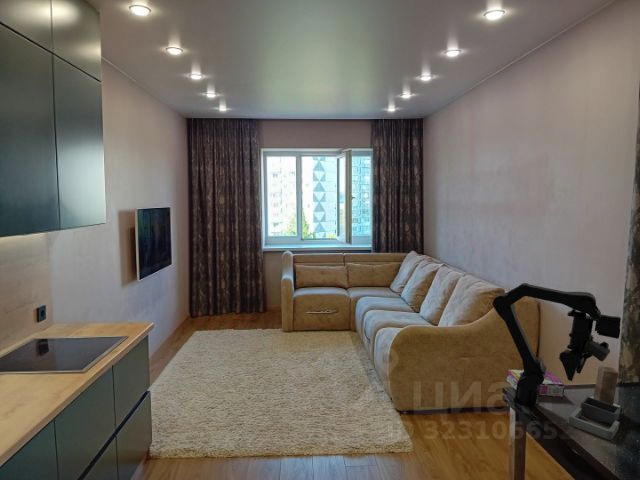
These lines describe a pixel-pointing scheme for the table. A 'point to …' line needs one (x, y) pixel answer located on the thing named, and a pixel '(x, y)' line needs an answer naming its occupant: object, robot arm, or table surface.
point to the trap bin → (600, 410)
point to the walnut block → (606, 384)
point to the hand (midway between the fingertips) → (574, 376)
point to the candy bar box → (548, 387)
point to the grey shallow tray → (592, 425)
